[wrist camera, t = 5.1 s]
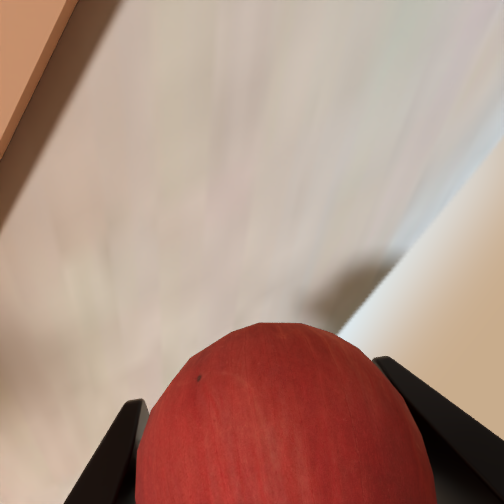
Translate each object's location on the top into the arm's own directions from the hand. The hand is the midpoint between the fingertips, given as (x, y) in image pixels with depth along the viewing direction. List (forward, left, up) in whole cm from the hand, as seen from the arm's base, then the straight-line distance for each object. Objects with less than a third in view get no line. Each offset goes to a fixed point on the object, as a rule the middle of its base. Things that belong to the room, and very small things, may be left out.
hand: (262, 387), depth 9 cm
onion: (0, 0, -2) cm, 2 cm away
